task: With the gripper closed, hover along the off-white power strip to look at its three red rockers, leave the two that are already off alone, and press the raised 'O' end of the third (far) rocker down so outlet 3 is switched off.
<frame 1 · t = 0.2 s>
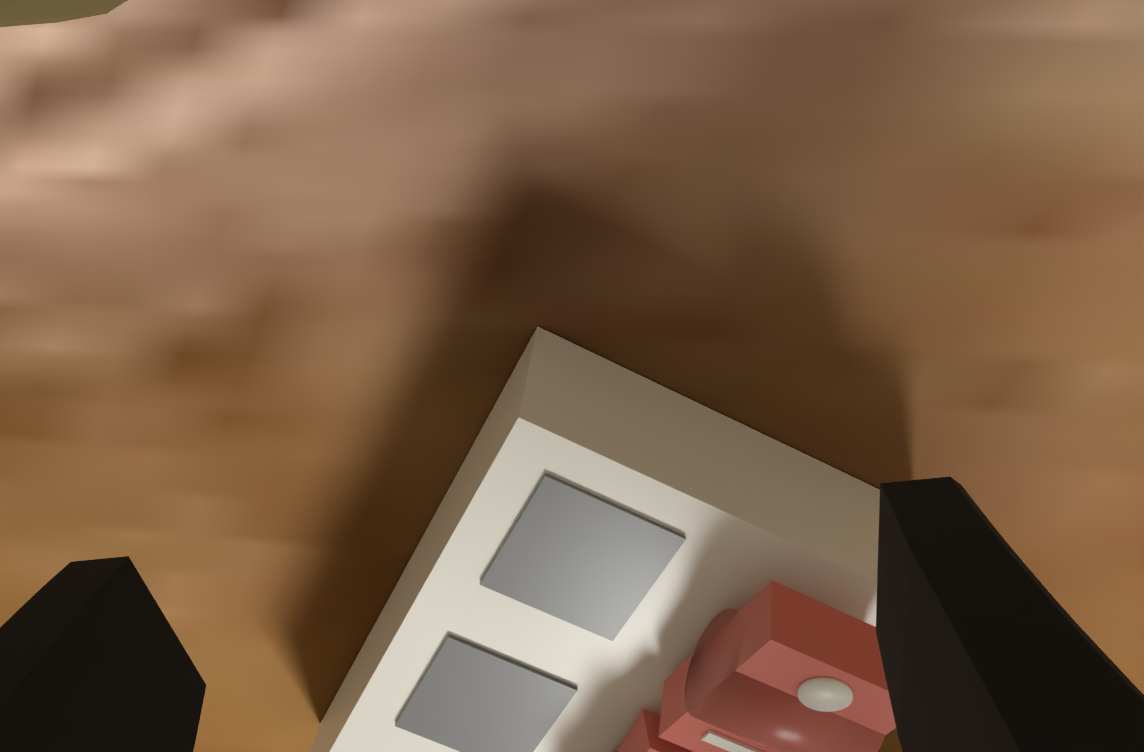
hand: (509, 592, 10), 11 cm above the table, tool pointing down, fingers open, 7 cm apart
rocker 3: (785, 693, 18), point 5 cm above the table, hinge at -13.0°
power strip: (589, 625, 24), on the table
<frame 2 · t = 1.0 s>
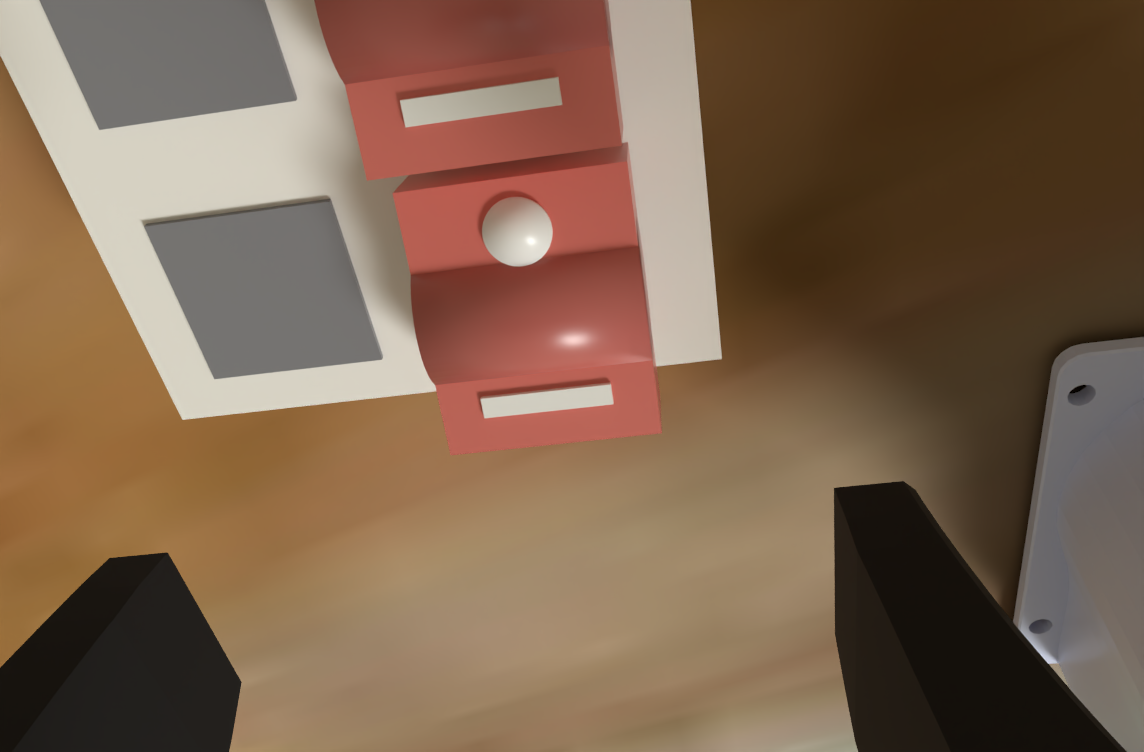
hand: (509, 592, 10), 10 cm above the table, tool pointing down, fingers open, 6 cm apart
rocker 1: (537, 302, 14), point 5 cm above the table, hinge at 13.0°
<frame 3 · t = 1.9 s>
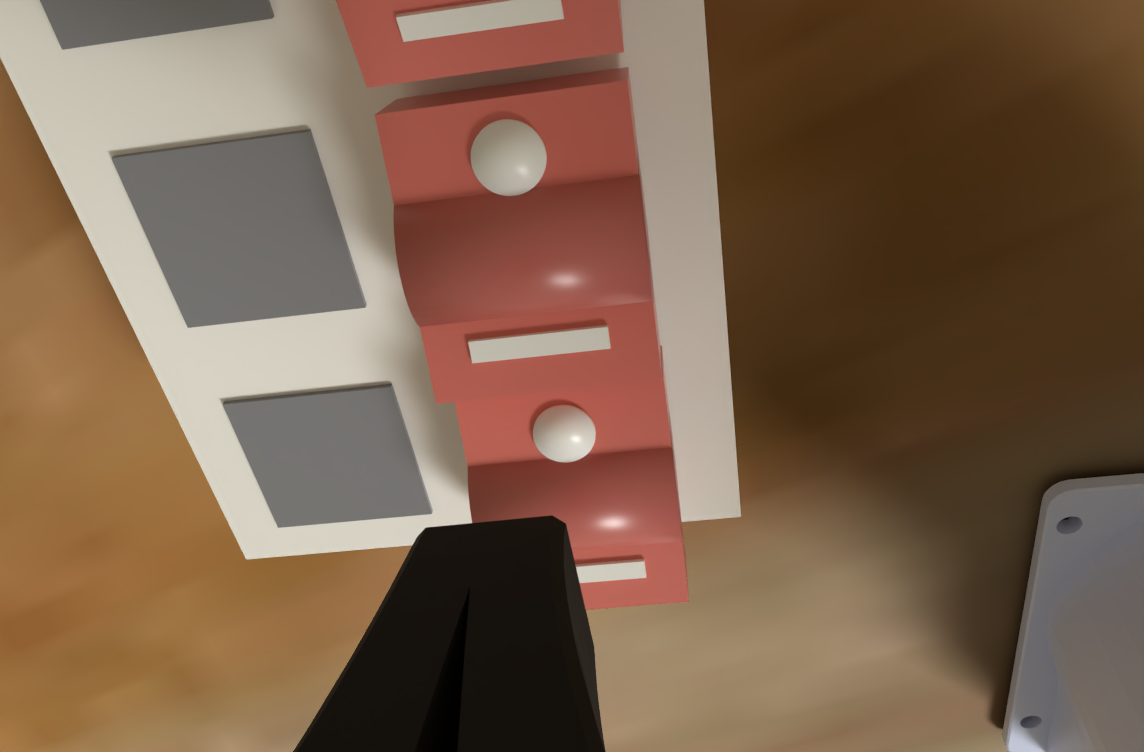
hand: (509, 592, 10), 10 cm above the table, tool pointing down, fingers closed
rocker 1: (578, 484, 16), point 5 cm above the table, hinge at 13.0°
power strip: (429, 116, 17), on the table
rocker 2: (529, 240, 13), point 5 cm above the table, hinge at 13.0°
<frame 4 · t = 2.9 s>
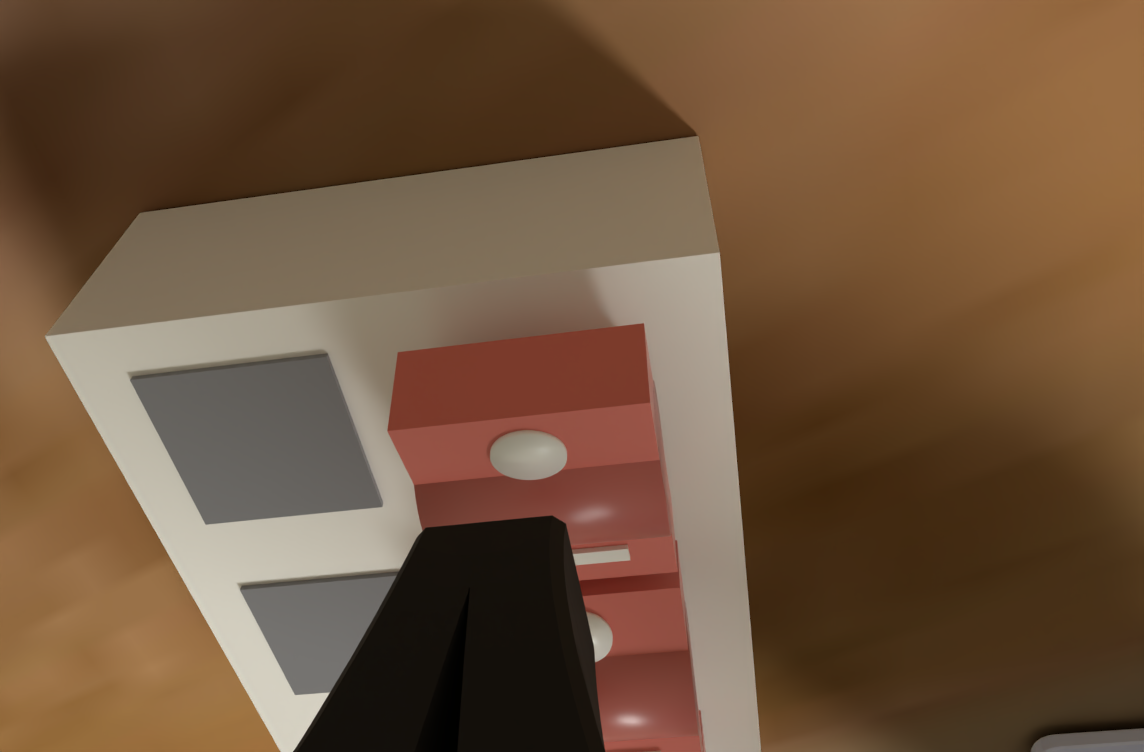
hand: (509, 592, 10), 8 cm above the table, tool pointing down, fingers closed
rocker 3: (547, 469, 13), point 5 cm above the table, hinge at -13.0°
power strip: (494, 479, 20), on the table
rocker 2: (594, 674, 16), point 5 cm above the table, hinge at 13.0°
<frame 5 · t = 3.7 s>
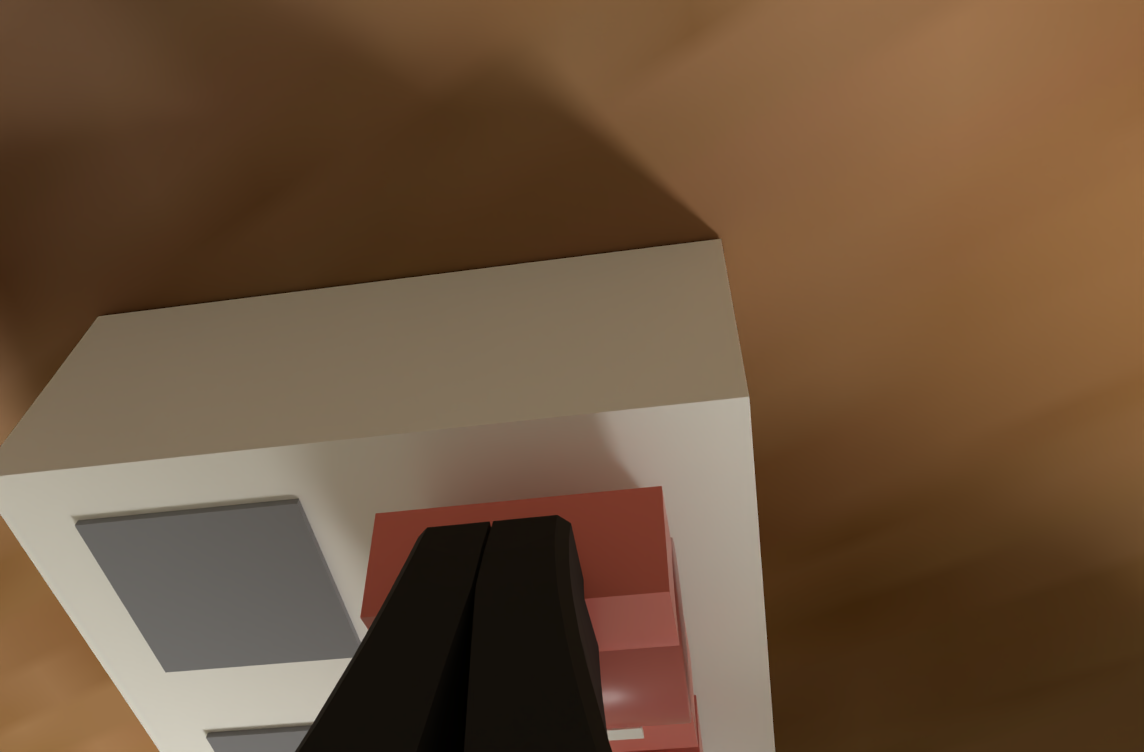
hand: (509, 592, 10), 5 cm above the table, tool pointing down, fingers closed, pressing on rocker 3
rocker 3: (548, 638, 11), point 5 cm above the table, hinge at -12.6°, touching gripper
power strip: (492, 593, 18), on the table
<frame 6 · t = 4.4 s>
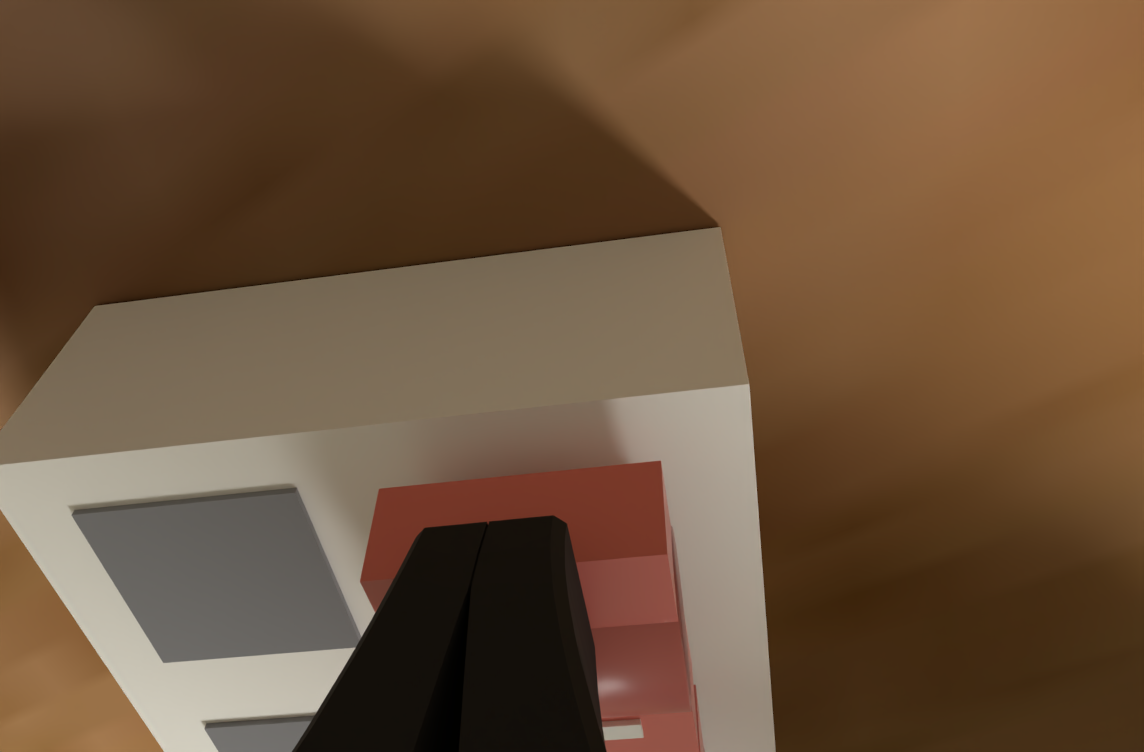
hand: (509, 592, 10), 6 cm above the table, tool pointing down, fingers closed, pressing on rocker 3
rocker 3: (547, 627, 11), point 5 cm above the table, hinge at -5.8°, touching gripper
power strip: (491, 584, 18), on the table
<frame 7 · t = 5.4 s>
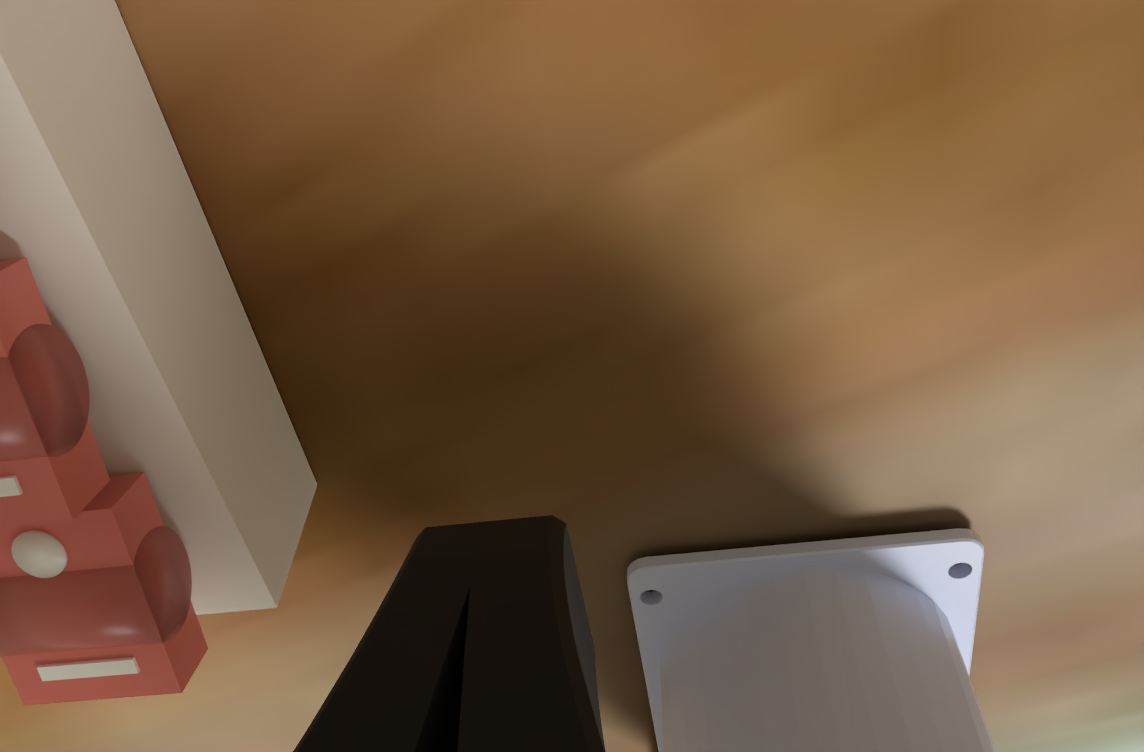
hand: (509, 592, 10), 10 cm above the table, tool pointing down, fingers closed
rocker 1: (83, 591, 18), point 5 cm above the table, hinge at 13.0°
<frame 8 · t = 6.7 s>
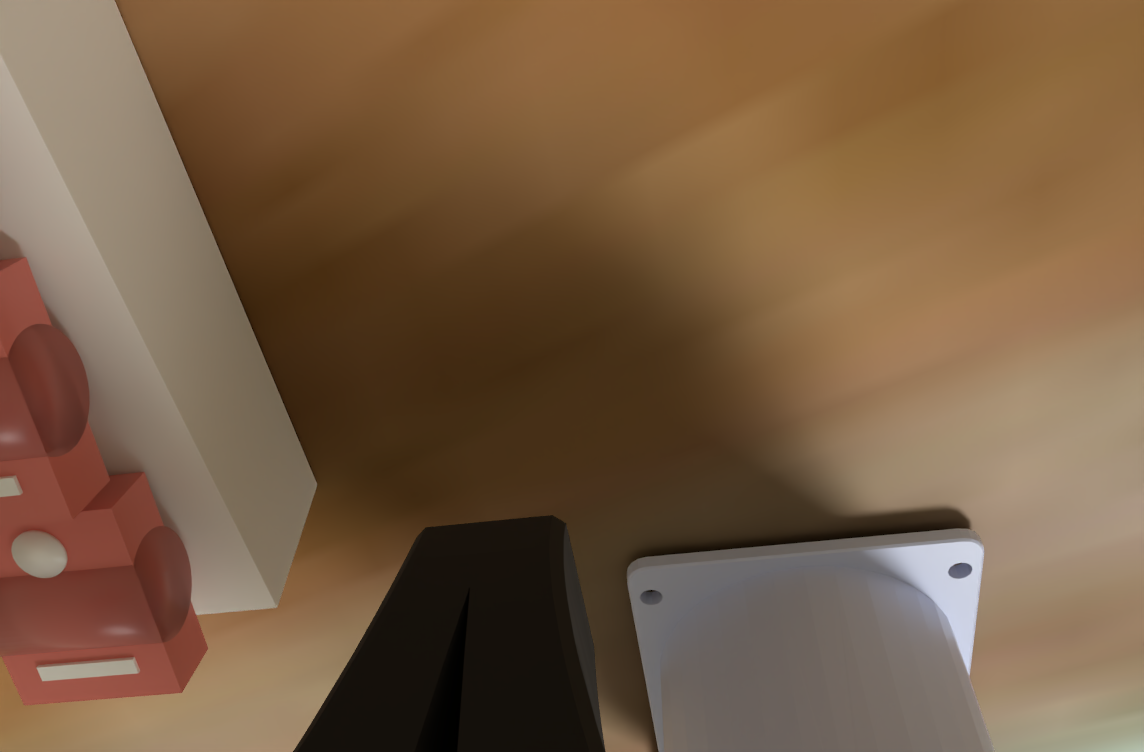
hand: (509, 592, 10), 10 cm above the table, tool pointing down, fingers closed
rocker 1: (83, 591, 18), point 5 cm above the table, hinge at 13.0°
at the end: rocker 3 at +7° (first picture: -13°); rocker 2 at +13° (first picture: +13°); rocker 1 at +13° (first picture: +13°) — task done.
